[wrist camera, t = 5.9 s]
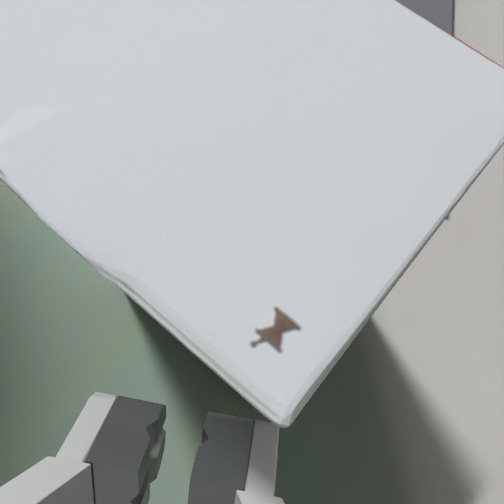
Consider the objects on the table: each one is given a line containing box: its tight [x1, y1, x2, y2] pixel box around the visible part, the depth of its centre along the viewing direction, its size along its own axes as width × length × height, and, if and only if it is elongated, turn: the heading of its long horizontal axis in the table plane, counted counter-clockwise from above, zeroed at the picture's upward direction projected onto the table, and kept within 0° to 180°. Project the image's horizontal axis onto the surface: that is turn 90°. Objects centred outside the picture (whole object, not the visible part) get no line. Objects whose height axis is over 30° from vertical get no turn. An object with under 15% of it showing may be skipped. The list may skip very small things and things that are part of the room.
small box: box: [0, 0, 504, 428], centre depth 13 cm, size 8×6×13 cm
